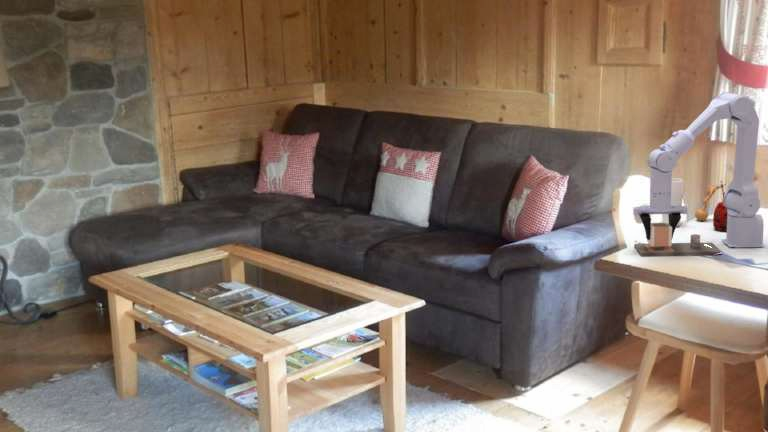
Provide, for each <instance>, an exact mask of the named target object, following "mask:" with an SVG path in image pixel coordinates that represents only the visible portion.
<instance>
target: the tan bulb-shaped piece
mask: <svg viewBox="0 0 768 432" xmlns="http://www.w3.org/2000/svg"><path fill="white" fill-rule="evenodd" d="M706 188H707V192H706V193H707V194H706V196H705V198H704V199H703V200H702V203H703V205H704V206H703V207H701V208H698V209H697V210H695V213H694V216H695V218H696V220H698V221H700V222H703V221H705V220H708V218H709V212H708V210H706V209H707V206H708V203H707V202H708V201H709V200H710V199H711V198H712V197H713V196H714V194H715V193H716V191H717V189H716V186H712V185H710V184H707V185H706Z"/></svg>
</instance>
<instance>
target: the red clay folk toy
mask: <svg viewBox="0 0 768 432" xmlns="http://www.w3.org/2000/svg"><path fill="white" fill-rule="evenodd" d="M720 183H721V184H719V186H718V185H716V186H715V188H716V190H719V189H721V191H722V200H721V201H719V202H717V205H716V206H715V207H714V211H713V216H712V217H713V218H712V219H713V223H712V224H713V225H712V226H713V228H714V230H715V231H718V232H727V215H728V212H727V208H726V207H725V206H724V203H723V199H724V196H725V194H726V192H725V191H724V186H726V185H727V184H726V183H725V184H723V181H722V180H720Z"/></svg>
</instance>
